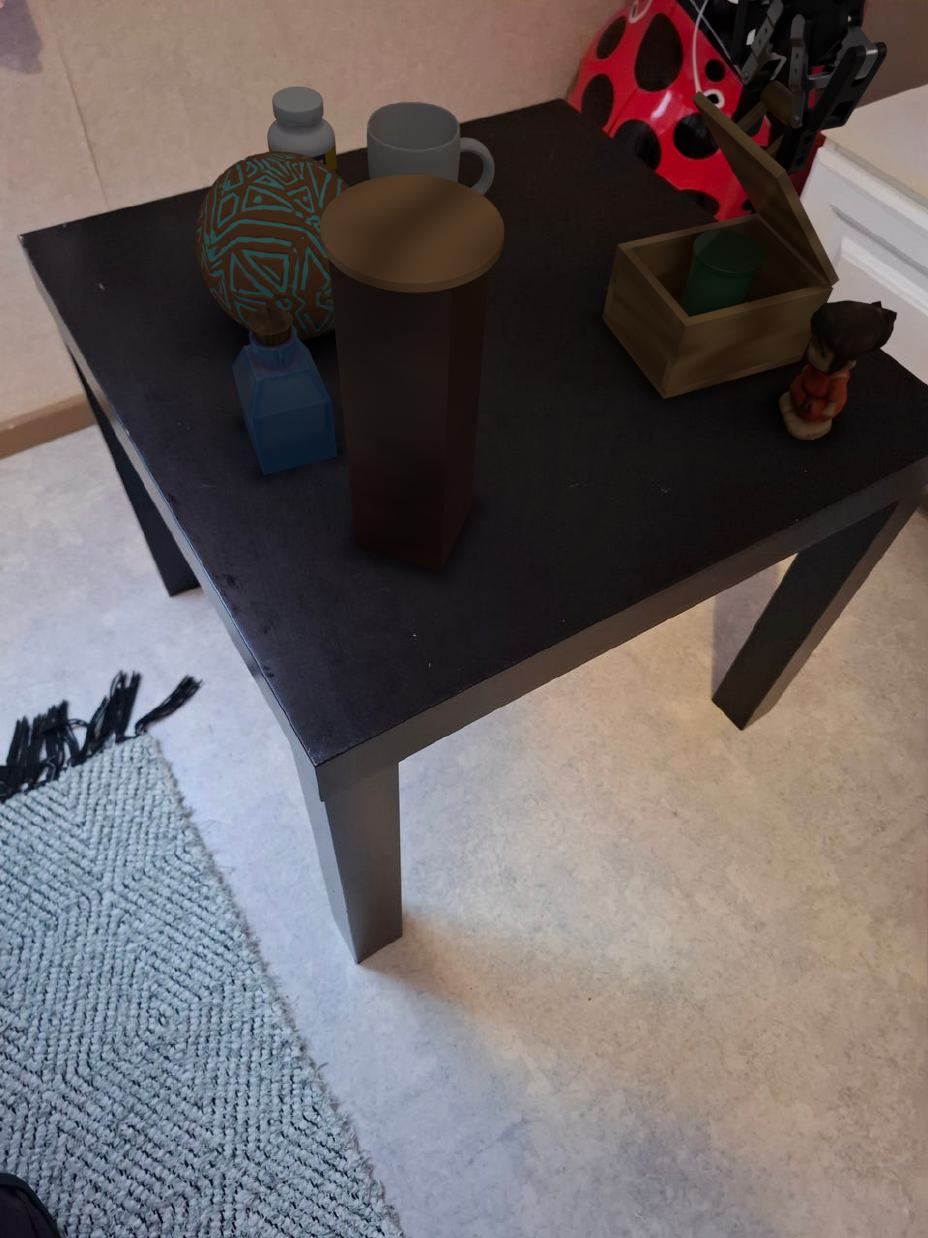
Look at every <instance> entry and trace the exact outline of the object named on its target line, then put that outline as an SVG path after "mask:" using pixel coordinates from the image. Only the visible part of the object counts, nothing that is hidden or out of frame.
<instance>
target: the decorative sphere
mask: <svg viewBox="0 0 928 1238" xmlns="http://www.w3.org/2000/svg"><path fill="white" fill-rule="evenodd" d="M350 187H351V186H350V185H349V184H347V182H345V181H344V179H343V177H341V176H340V175H339V174H338V175H337V174H336V173H335V172H334V171H333V170H332V169H330V168H329V167H327V166H326V165H324V164H323V163H320V162H318V161H317V160H315V159H313V158H310V157H308V156H305V155H301V154H297V153H293V152H281V151H271V152H269V151H265V152H262V153H261V152H260V153H255V154H252V155H248V156H245V158H244V159H240V160H238V161H237V162H234V163H233V164H231V165H230V166H229V167H228V168H226V169H225V170H224V171H223V172H222V173H221V174H219V176H218V177H216V179H215V180H214V181H213V183H212V185H211V187H210V189H209V190H208V192H206V194H205V196H204V198H203V201H202V203H201V204H200V208H199V211H198V220H197V221H196V225H195V226H196V228H195V230H196V234H195V251H196V260H197V262H198V266H199V270H200V273H201V276H202V278H203V280H204V282H205V284H206V287H207V289H208V291H209V293H210V294H211V296H212V297H213V298H214V299H215V301H216V303H217V304H219V305H220V308H221V309H222V310H223V311H224V312H225V313H226V314H227V315H228V316H229V317H230V318H231V319H232V320H234V321H235V322H236V323H237V324H239V325H240V326H241V327H244V328H245V329H247V330H249V331H250V330H251V329H250V327H249V323H248V320H249V317H250V315H251V314H252V313H253V312H255V311H256V310H258V309H261V308H264V307H279V308H282V309H285V310H286V311H288V312H289V313H290V314H291V316H292V320H293V321H292V325H293V327H294V328H295V329H296V335H297V338H298V339H299V340H300V341H306V340H311V339H314V338H318V337H321V336H323V335H325V334H328V333H331V332H332V331H333V330H335V323H334V313H333V302H332V292H331V281H330V271H329V260H328V257H327V255H326V253H325V252H324V250H323V247H322V243H321V237H320V221H321V217H322V215H323V212H324V210H325V209H326V207H327V206H328V204H329V203H330V202H331V201H332V200H333V199H334V198H335V197H336V196H338V195H339V194H340V193H342V192H343V191H345V190H346V189H348V188H350Z"/></svg>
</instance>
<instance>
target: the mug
mask: <svg viewBox="0 0 928 1238" xmlns="http://www.w3.org/2000/svg"><path fill="white" fill-rule="evenodd" d="M366 124H367V126H366V152H367V165H368V174H369V180H371V179H375V178H379V177H385V176H393V175H425V176H433V177H438V178H443V179H447V180H451V181H454V182H457V183H458V181H459V170H460V160H461V153H472V154H474V155H476V156H477V157H478V158H479V157H480V159H481V161H482V163H483V169H482V173H481V175H480V178H479V180H478V181H477V182H476V183H475V184H474V185H472V187H470V188H471V189H473V190H475V191H476V192H478V193H480V194H481V195H483V196H484V197H485V194H486V193H487V192H488V191H489V190H490V188H491V186H492V184H493V182H494V177H495V161H494V157H493V155H492V154H491V152H490V150H489V148H487V146H486V145H485V144H483V143H482V142H480V141H479V140H477V139H475V138H471V137H461V125H460V123H459V120H458V118H457V116H455V115H454V114H453V113H452V112H451V111H450V110H448V109H446V108H444V107H442V106H440V105H437V104H433V103H429V102H428V103H427V102H421V101H401V102H395V103H388V104H386V105H383V106H381V107H379V108H378V109H376V110H375V111H373V112H372V113H371V115H370V116H369V118H368V120H367V123H366Z"/></svg>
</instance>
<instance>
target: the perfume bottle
mask: <svg viewBox="0 0 928 1238" xmlns="http://www.w3.org/2000/svg"><path fill="white" fill-rule="evenodd" d="M292 321H293V320H292V316H291V314H290V313H289V312H288V311H286V310H285V309H282V308H279V307H264V308H261V309H258V310H256V311H255V312H253V313H252V314H251V315H250V317H249V320H248V323H249V327H250V329H251V330H249V333H248V338H249V344H248V345H244V346H243V347H242V348H241V351H240V352H239V353H238V356H237V357H236V359H235V360H234V362H233V363H232V365H231V367H232V372H233V376H234V382H235V386H236V391H237V396H238V399H239V403H240V408H241V413H242V416H243V421H244V426H245V428H246V431H247V434H248V436H249V439H250V442H251V444H252V447H253V450H254V453H255V455H256V458H257V461H258V463H259V466H260V469H261V472H262V474H263V476H266V475H269V474H273V473H278V472H281V471H287V470H290V469H294V468H297V467H302V466H306V465H309V464H314V463H318V462H321V461H325V460H329V459H333V458H338V454H337V453H338V452H337V444H336V433H335V425H334V417H333V406H332V399H331V397H330V395H329V393H328V390H327V388H326V386H325V384H324V381H323V378H322V377H321V374H320V371H319V370H318V368H317V365H316V364H315V361H314V358H313V356H312V354H311V352H310V350H309V348H308V347H307V346H306V345H305V343H303V342H302V340H299V339H298V338H297V335H296V329H295V328H294V327H293V325H292Z"/></svg>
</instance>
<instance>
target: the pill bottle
mask: <svg viewBox="0 0 928 1238" xmlns="http://www.w3.org/2000/svg"><path fill="white" fill-rule="evenodd" d="M271 99H272V100H271V102H272V103H271V104H272V112H273V116H274V118H275V120H274V121H273V122H272V123H271V124H270V125H269V128H268V131H267V134H266V139H267V148H268V152H271V151H281V152H293V153H297V154H301V155H305V156H308V157H310V158H313V159H315V160H317V161H318V162H320V163H323V164H324V165H326V166H327V167H329V168H330V169H332V170H333V171H334V172H335V173H336V174H337V175H339V172H338V171H339V170H338V159H337V158H338V157H337V144H336V134H335V131H334V128H333V127H332V125H331V124H330V123H329V122H328V120H326V119H325V118H323V117H324V113H325V111H324V99H323V97H322V94H320V92H319V91H317V90H316V89H313V88H310V87H307V86H288V87H284V88H281V89H280V90H278V91H276V92H275V93H274V94H273V95H272V97H271Z"/></svg>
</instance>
